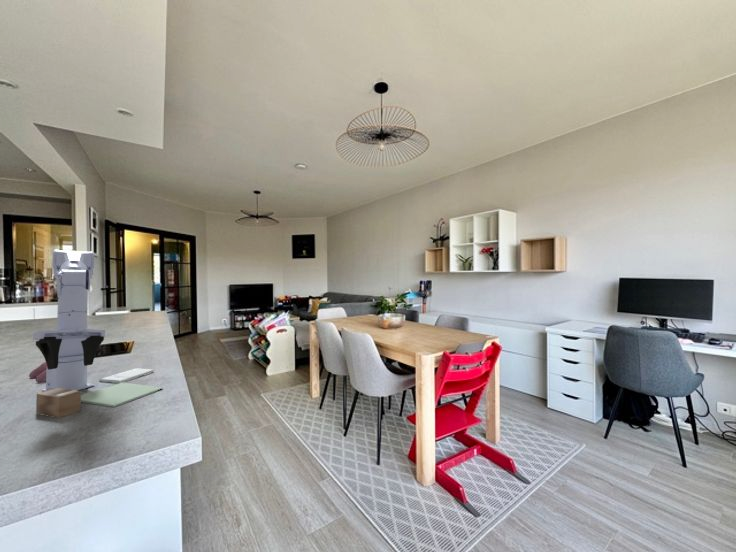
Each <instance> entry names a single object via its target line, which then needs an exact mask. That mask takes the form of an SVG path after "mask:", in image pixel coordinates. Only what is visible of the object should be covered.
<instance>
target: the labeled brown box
mask: <svg viewBox="0 0 736 552" xmlns="http://www.w3.org/2000/svg"><path fill="white" fill-rule="evenodd" d="M81 395H82V391H81V390H78V391H77V390H71V389H64V388H56V389H53V390H49V391H42V392H38V393H36V403H35V404H36V406H35V407H36V408H35V414H36V413H37V414H36V415H41V414H43V415H42V416H46V415H48V416H47V417H51V416H53V417H52V418H57V417H58V418H59V417H60V418H63V417H65V415H66V416H68V415H71V414H74V413H76V412H80V411H81V406H82V405H81V403H82V402H81ZM62 416H63V417H62Z"/></svg>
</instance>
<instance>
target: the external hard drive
mask: <svg viewBox="0 0 736 552" xmlns="http://www.w3.org/2000/svg"><path fill="white" fill-rule="evenodd" d="M153 371H154V372H155V370H154V369H151V368H150V369H149V368H140V367H139V368H137V367H135V368H133V369H128V370H125V371H122V372H118V373H116V374H112V375H109V376H106V377H103V378H99V380H98V382H99V381H105V382H104V383H111V382H113V383H112V384H119V383H123V382H124V383H127V382H129V381H132V380H135V379H138V378H140V377H139V376H141V377H143V376H142V375H144V376H146V375H145V374H147V375H149V374H148V373H150V372H153ZM137 377H138V378H137ZM134 378H135V379H134Z"/></svg>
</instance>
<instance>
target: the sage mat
mask: <svg viewBox="0 0 736 552" xmlns="http://www.w3.org/2000/svg"><path fill="white" fill-rule="evenodd" d="M160 389H162V390H163V387H160V386H153V385H152V386H151V385H145V384H140V383H139V384H137V383H131V382H130V383H129V382H123V383H115V384H114V385H109V386H106V387H103V388H99V389H97V390H93V391H90V392H86V393H84V394H81V403H86V404H92V405H97V406H98V405H99V406H104V407H111V408H115V407H118V406H120V405H121V406H122V405H123V404H124V405H125V404H126V403H129V402H132V401H134V400H137V399H139V398H142V397H143V398H144V397H145V396H148V395H151V394H154V393H156V392H159V391H161V390H160ZM158 390H159V391H158ZM155 391H156V392H155ZM153 392H154V393H153Z"/></svg>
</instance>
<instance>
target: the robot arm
mask: <svg viewBox="0 0 736 552" xmlns="http://www.w3.org/2000/svg"><path fill="white" fill-rule="evenodd" d="M94 269H95V252H94V251H91V250H90V251H85V250H84V251H80V250H79V251H78V250H64V249H59V250H58V248H56V249H54V250H52V273H53V275H54V276H53V277H54V278H55V279H56V280H55V282H56V283H55V284H56V292H57V314H56V315H57V317H56V319H57V320H56V321H57V322H56V329H50V330H46V329H45V330H44V329H43V330H36V331H35V330H34V331H33V336H32V337H33V339H32V340H33V341H35V346H36V347H37V349H38V350H39V351H40V352H41V354H42V356H43V357H44V360H45V361H44V362H46V364H47V370H46V381H45V388H42V389H41V391H42V392H45V391H49V390H53V389H56V388H64V389H71V390H77V391H81V390H84V389H87V388H92V387H94V386H95V383H89V382H88V366H90V365H91V366H92V365H93V364H94V361H95V357H96V355H97V351H98V349H99V348H100V346H101V345H102V343H103V341H104V340H105V338H106V330H105V329H93V328H88V309H89V307H88V306H89V305H88V302H89V301H88V300H89V299H88V298H89V291H90V288H91V279H92V278H93V276H94Z"/></svg>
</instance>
